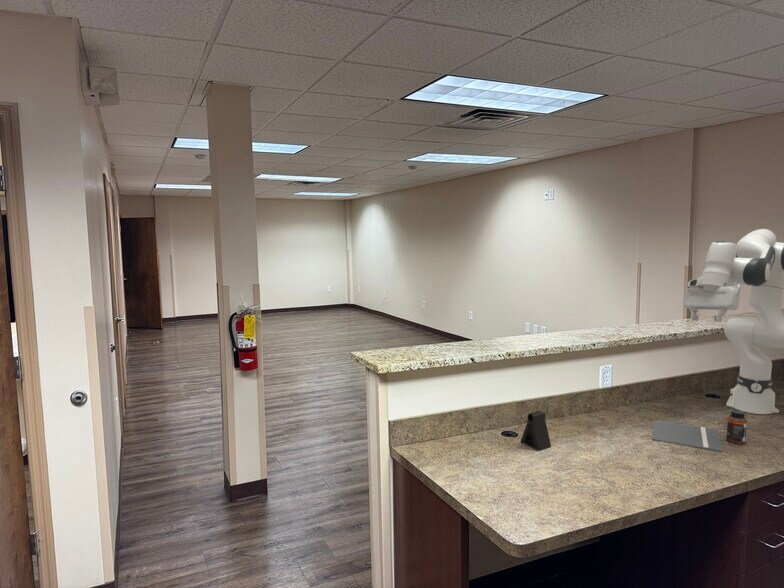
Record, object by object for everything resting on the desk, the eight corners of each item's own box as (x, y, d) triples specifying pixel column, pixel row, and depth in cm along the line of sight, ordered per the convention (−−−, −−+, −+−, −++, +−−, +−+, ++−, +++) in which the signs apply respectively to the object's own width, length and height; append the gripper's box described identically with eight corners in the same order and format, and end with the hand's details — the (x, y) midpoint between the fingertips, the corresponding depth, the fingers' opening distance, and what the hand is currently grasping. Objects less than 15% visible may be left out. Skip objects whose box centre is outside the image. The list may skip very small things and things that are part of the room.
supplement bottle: (749, 444, 187) (752, 414, 186) (732, 444, 187) (735, 414, 186) (738, 438, 193) (741, 408, 192) (722, 438, 193) (724, 408, 192)
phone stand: (520, 442, 190) (521, 410, 188) (532, 438, 193) (533, 407, 191) (539, 451, 182) (540, 418, 181) (551, 447, 185) (552, 414, 184)
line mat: (653, 420, 211) (653, 419, 210) (717, 430, 200) (717, 428, 200) (652, 440, 191) (652, 438, 191) (722, 451, 181) (722, 450, 181)
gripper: (748, 285, 177) (739, 324, 176) (697, 287, 197) (688, 322, 195) (734, 280, 176) (725, 319, 174) (684, 282, 195) (675, 317, 194)
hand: (705, 320), depth 185 cm, fingers open, 8 cm apart
